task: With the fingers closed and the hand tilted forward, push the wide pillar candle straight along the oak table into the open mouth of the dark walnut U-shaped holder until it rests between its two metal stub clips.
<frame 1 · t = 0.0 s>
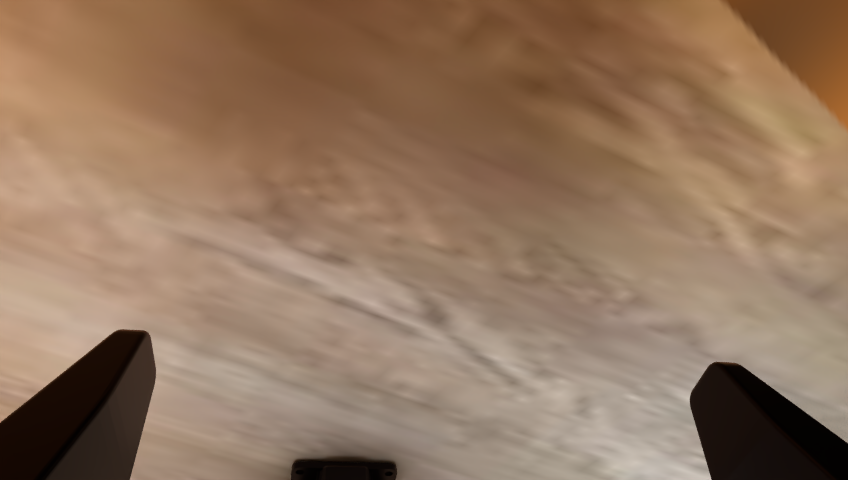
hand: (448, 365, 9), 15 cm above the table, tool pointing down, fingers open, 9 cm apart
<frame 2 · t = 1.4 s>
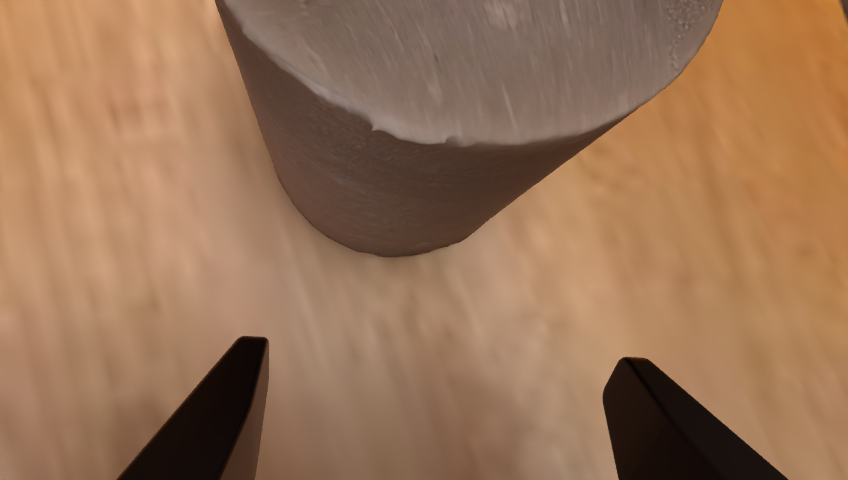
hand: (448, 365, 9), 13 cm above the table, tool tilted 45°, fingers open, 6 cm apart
pillar candle: (388, 141, 23), on the table
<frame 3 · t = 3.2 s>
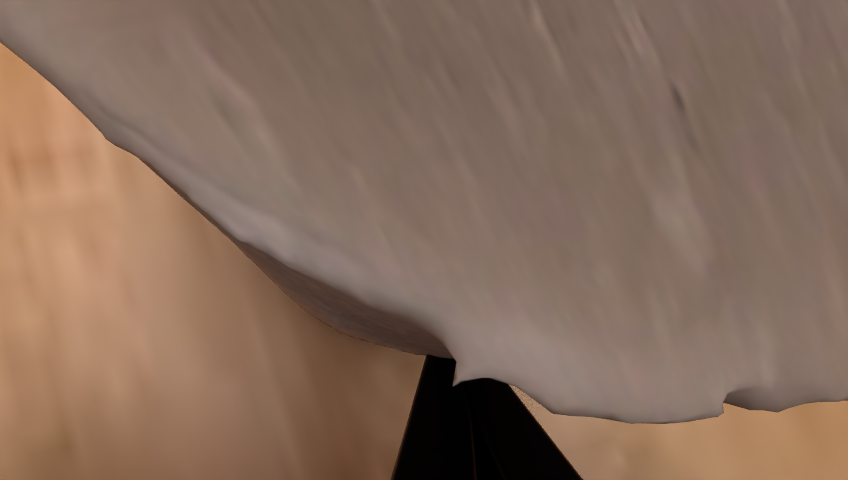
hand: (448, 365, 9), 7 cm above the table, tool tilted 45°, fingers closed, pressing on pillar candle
pillar candle: (405, 182, 17), on the table, touching gripper
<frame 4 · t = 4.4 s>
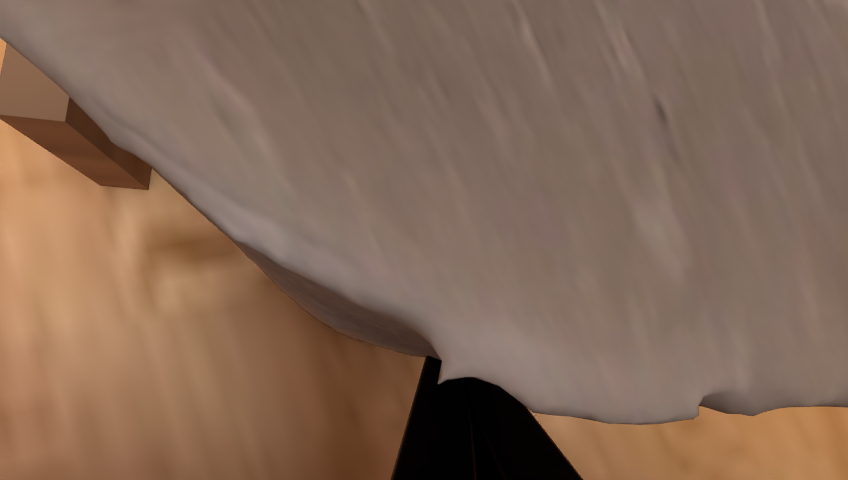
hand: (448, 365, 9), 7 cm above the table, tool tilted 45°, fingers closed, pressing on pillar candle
pillar candle: (406, 185, 17), on the table, touching gripper
holder: (412, 75, 17), on the table
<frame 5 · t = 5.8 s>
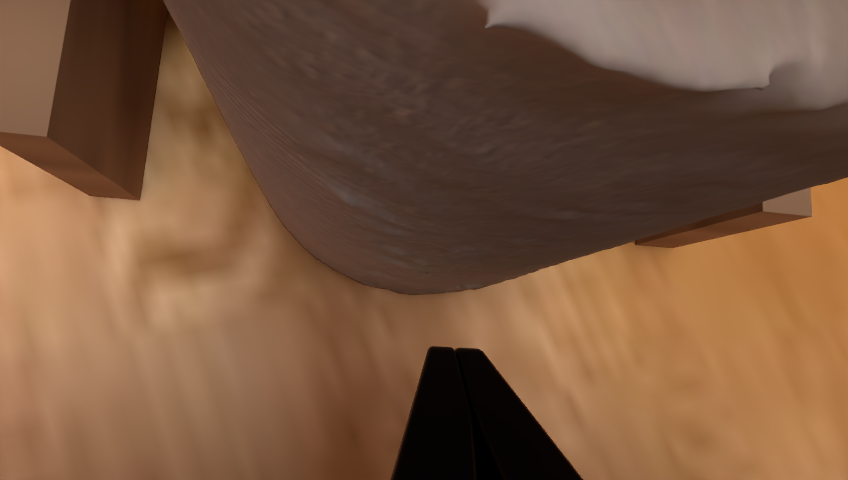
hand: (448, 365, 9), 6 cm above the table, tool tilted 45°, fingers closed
pillar candle: (413, 132, 16), on the table
holder: (415, 79, 16), on the table
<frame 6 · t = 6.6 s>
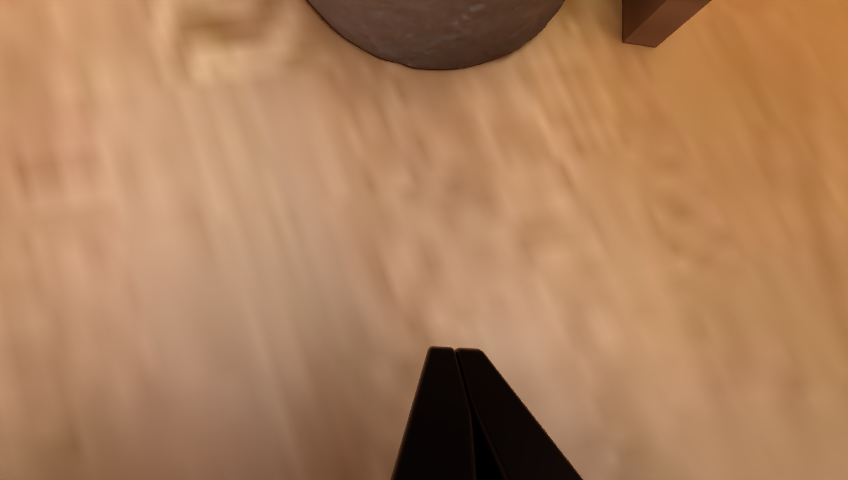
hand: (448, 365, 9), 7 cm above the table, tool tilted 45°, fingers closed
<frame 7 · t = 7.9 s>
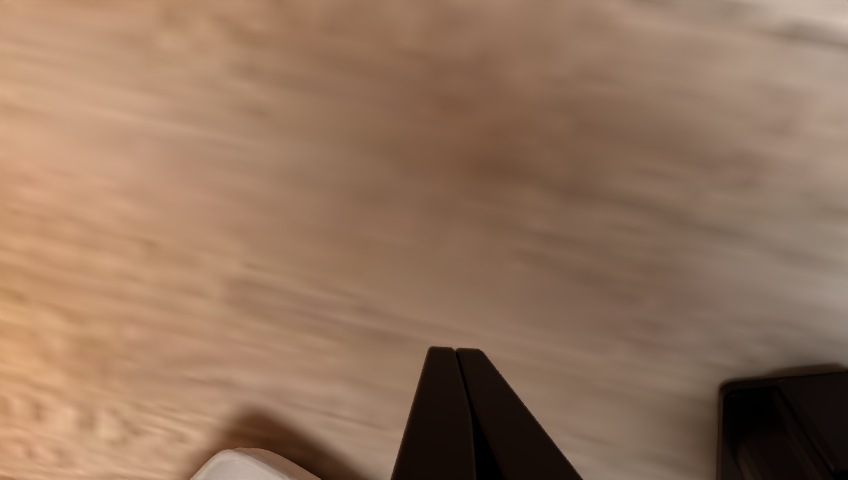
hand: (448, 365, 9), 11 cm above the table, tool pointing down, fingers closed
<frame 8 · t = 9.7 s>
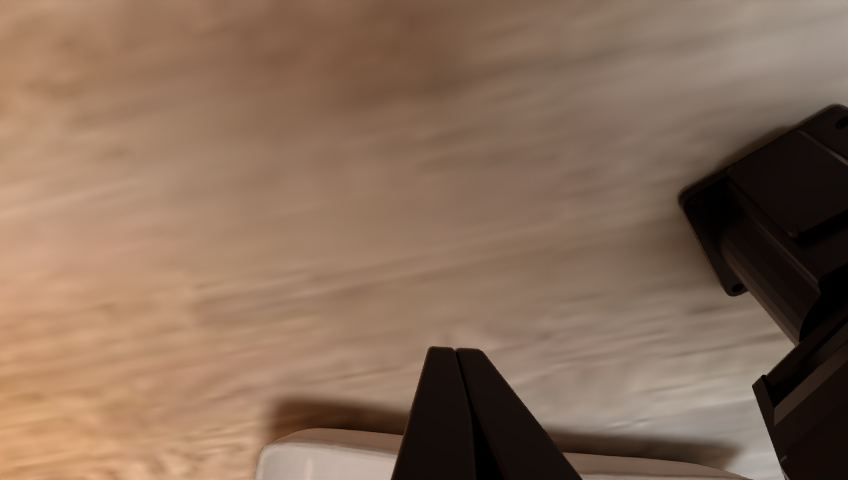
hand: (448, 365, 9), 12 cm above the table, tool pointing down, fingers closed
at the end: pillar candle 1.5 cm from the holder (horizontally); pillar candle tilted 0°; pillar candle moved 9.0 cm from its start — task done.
